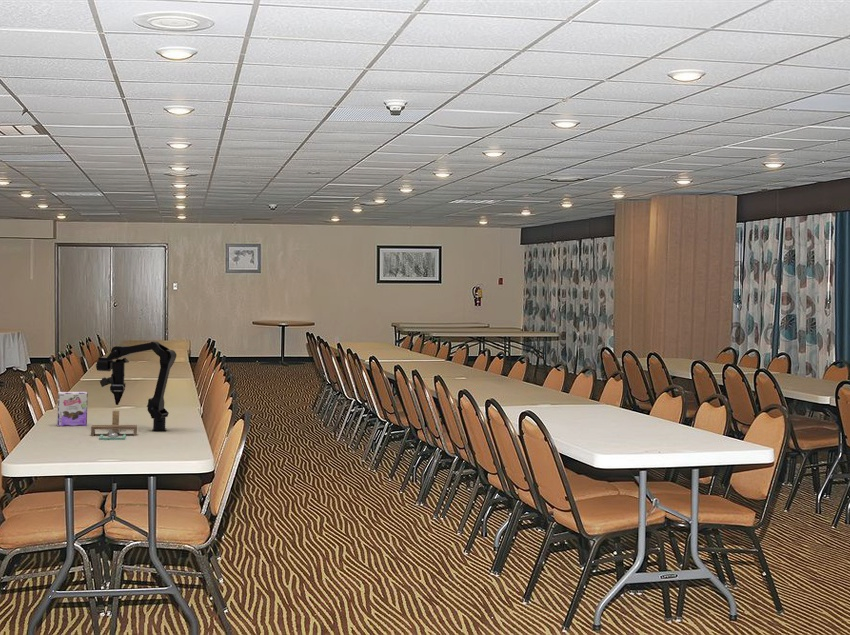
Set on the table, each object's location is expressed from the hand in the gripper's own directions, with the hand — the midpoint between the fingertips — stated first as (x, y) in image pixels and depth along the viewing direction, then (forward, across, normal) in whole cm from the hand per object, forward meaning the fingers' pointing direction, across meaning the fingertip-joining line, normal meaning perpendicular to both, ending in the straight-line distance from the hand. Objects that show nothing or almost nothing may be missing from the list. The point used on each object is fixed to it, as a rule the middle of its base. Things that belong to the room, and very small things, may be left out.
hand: (117, 403), depth 483 cm
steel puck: (+12, +28, 0) cm, 31 cm away
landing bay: (+12, +32, 0) cm, 34 cm away
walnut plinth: (+12, +22, 0) cm, 25 cm away
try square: (+12, +9, 0) cm, 15 cm away
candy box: (+12, -12, -22) cm, 28 cm away
